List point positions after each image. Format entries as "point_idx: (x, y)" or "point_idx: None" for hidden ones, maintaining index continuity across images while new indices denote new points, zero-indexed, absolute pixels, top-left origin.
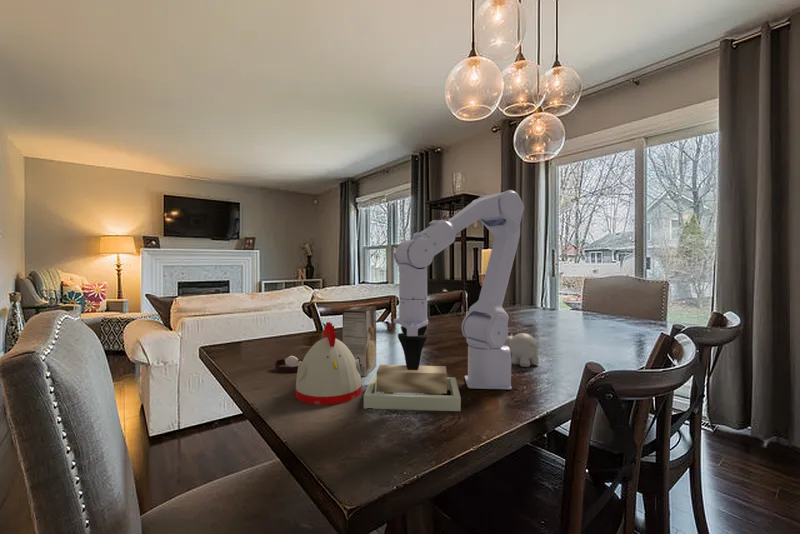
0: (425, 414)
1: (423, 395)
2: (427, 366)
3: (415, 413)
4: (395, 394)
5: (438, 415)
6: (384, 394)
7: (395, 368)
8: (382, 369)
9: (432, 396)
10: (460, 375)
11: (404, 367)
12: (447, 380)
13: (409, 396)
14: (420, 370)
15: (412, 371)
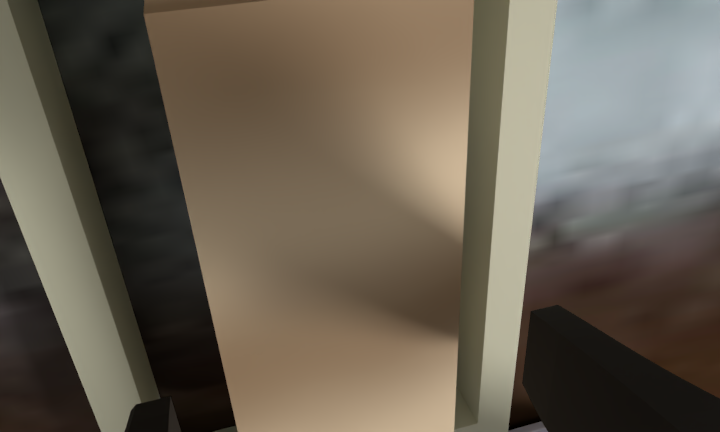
0: (24, 341)
1: (114, 372)
2: (435, 426)
3: (14, 287)
4: (56, 186)
5: (41, 402)
6: (16, 90)
7: (339, 203)
8: (267, 68)
9: (115, 422)
10: (678, 365)
11: (385, 276)
12: (473, 404)
13: (54, 296)
14: (307, 417)
15: (260, 373)
